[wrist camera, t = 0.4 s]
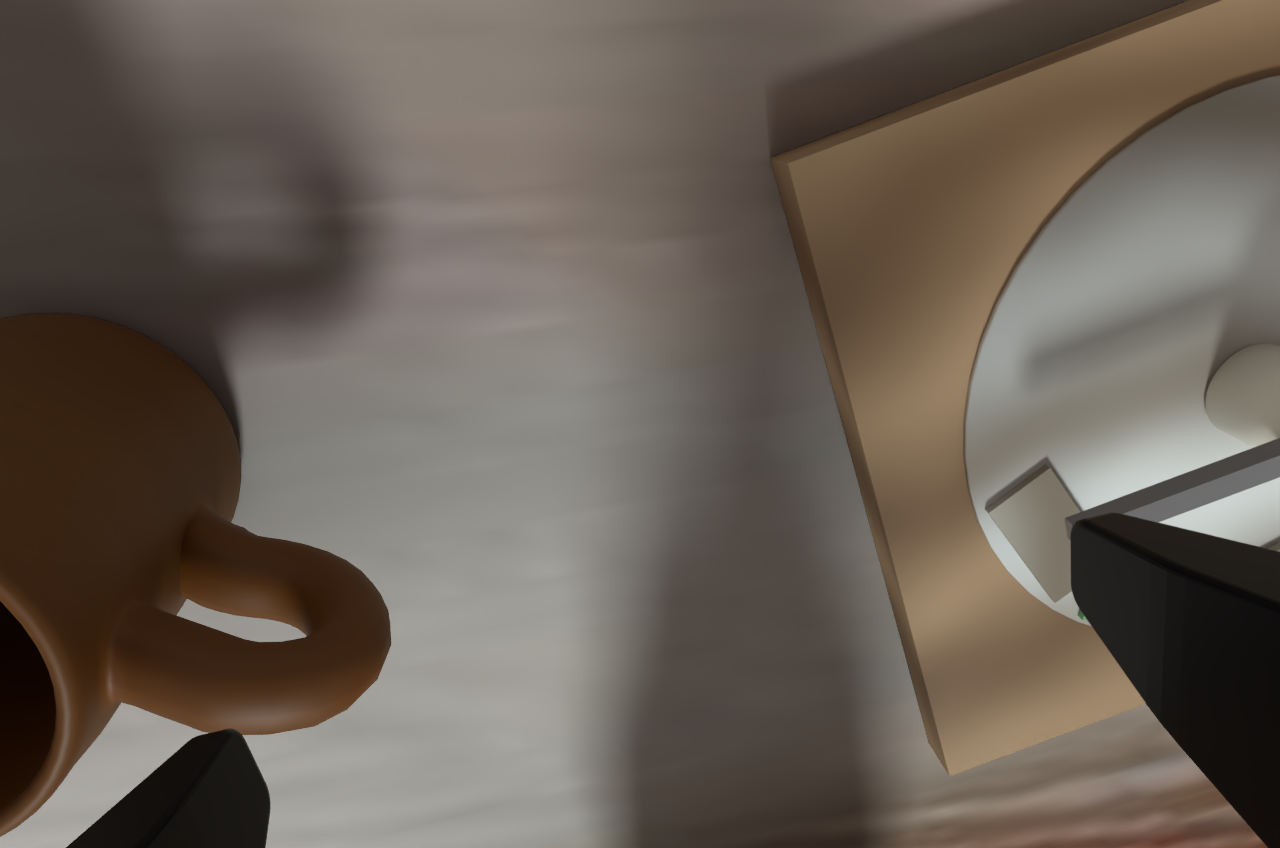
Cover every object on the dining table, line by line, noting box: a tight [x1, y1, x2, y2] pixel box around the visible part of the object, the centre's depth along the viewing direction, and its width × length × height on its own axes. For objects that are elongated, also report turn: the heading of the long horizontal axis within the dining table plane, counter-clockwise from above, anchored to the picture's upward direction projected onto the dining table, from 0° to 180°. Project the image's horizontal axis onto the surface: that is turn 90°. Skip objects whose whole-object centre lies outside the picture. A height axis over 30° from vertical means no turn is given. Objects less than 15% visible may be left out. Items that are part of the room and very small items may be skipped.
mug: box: [0, 313, 391, 837], centre depth 18 cm, size 12×8×9 cm, turn 78°
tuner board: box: [770, 0, 1280, 776], centre depth 24 cm, size 20×21×2 cm
